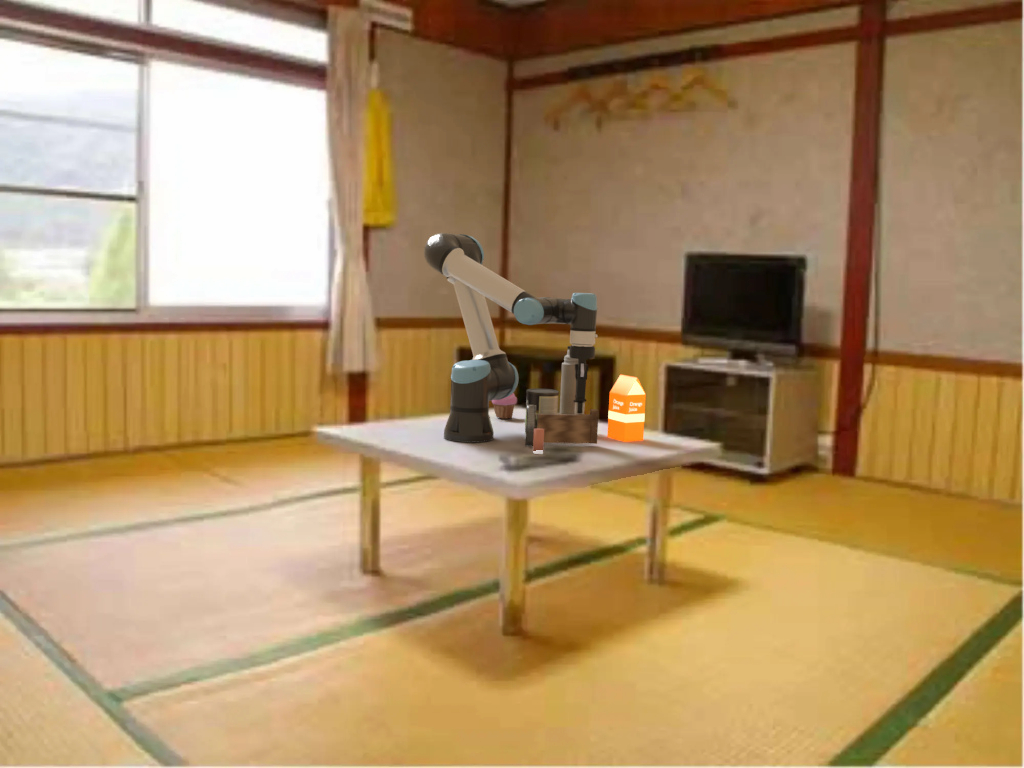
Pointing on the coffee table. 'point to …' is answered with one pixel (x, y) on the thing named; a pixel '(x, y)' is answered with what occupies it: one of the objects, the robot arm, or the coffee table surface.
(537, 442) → the latch post
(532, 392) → the coffee can
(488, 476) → the coffee table surface
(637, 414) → the orange juice
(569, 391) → the thermos bottle
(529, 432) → the hinge post
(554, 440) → the gate
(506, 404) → the cupcake
